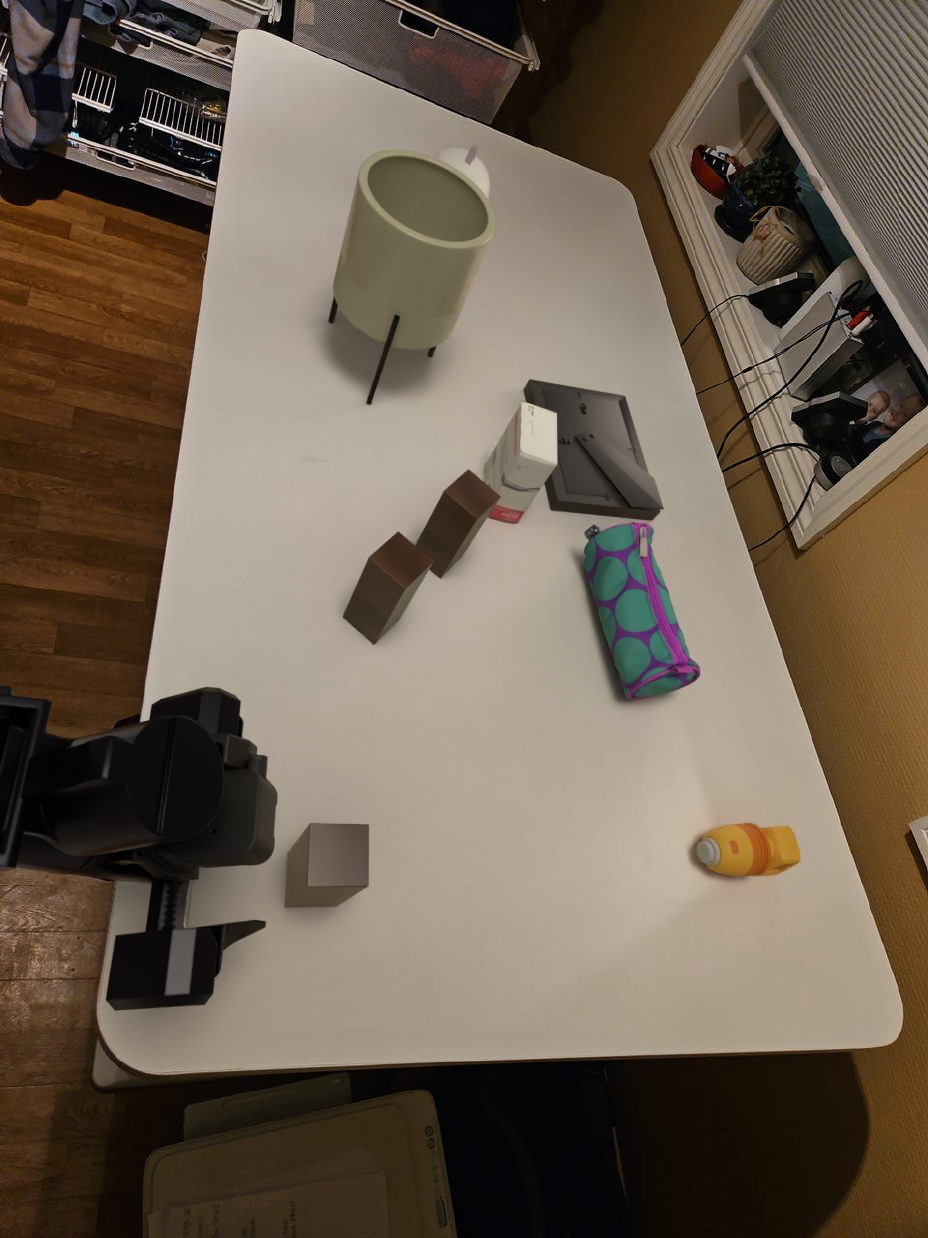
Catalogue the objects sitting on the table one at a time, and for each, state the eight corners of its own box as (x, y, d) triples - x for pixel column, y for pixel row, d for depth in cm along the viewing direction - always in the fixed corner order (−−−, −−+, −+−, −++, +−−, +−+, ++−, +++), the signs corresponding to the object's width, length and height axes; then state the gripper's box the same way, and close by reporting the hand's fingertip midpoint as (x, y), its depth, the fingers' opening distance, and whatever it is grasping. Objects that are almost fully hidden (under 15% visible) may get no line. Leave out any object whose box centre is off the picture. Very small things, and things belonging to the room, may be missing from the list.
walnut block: (374, 644, 75) (405, 589, 66) (342, 616, 76) (368, 557, 66) (400, 618, 78) (434, 561, 68) (369, 591, 78) (398, 530, 68)
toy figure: (693, 883, 76) (783, 876, 80) (725, 875, 71) (819, 867, 75) (680, 831, 78) (768, 826, 82) (711, 820, 73) (803, 815, 77)
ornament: (475, 248, 114) (505, 175, 104) (413, 227, 111) (437, 150, 101) (475, 209, 119) (503, 136, 109) (415, 188, 115) (438, 111, 106)
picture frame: (652, 520, 99) (617, 405, 108) (663, 508, 96) (627, 391, 105) (550, 510, 93) (523, 389, 102) (560, 497, 91) (531, 374, 100)
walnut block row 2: (440, 578, 82) (477, 519, 72) (410, 553, 82) (443, 490, 73) (462, 556, 85) (501, 496, 75) (433, 532, 85) (468, 468, 75)
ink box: (517, 525, 90) (559, 466, 80) (480, 515, 89) (519, 454, 79) (518, 473, 94) (559, 410, 84) (483, 462, 93) (521, 398, 83)
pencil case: (565, 552, 91) (603, 508, 83) (624, 553, 94) (666, 511, 86) (610, 707, 82) (657, 675, 74) (672, 703, 86) (724, 671, 78)
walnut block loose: (284, 907, 61) (306, 887, 51) (287, 852, 63) (309, 823, 53) (337, 906, 63) (368, 886, 53) (338, 853, 65) (369, 824, 55)
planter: (308, 385, 89) (346, 214, 70) (330, 302, 97) (370, 129, 78) (425, 422, 93) (492, 270, 74) (437, 340, 101) (500, 184, 82)
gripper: (166, 1006, 32) (359, 996, 44) (212, 629, 40) (362, 710, 53) (-3, 1017, 36) (218, 1005, 48) (71, 672, 44) (243, 738, 57)
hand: (265, 855), depth 52 cm, fingers open, 9 cm apart
